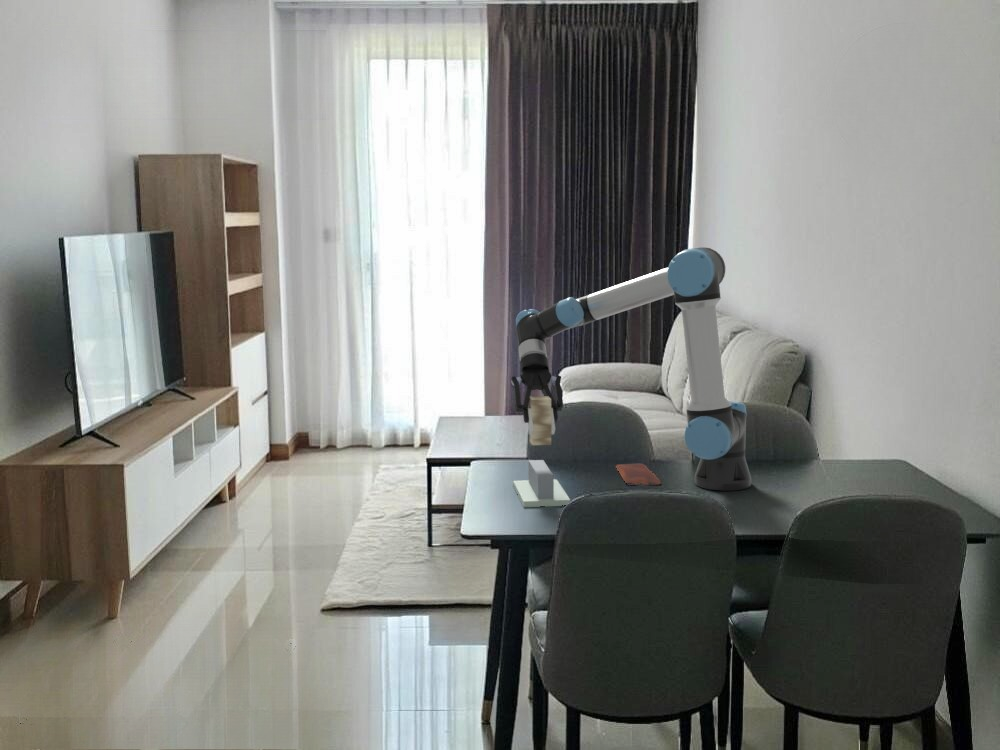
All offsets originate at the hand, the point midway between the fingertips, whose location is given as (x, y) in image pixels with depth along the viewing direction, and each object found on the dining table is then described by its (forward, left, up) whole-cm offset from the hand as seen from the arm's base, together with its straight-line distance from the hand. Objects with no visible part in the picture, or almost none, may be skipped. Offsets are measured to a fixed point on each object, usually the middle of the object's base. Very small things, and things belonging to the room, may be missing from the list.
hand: (542, 431), depth 283 cm
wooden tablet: (-18, -34, -19) cm, 43 cm away
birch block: (+2, -3, -4) cm, 5 cm away
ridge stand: (+1, -3, -18) cm, 18 cm away
